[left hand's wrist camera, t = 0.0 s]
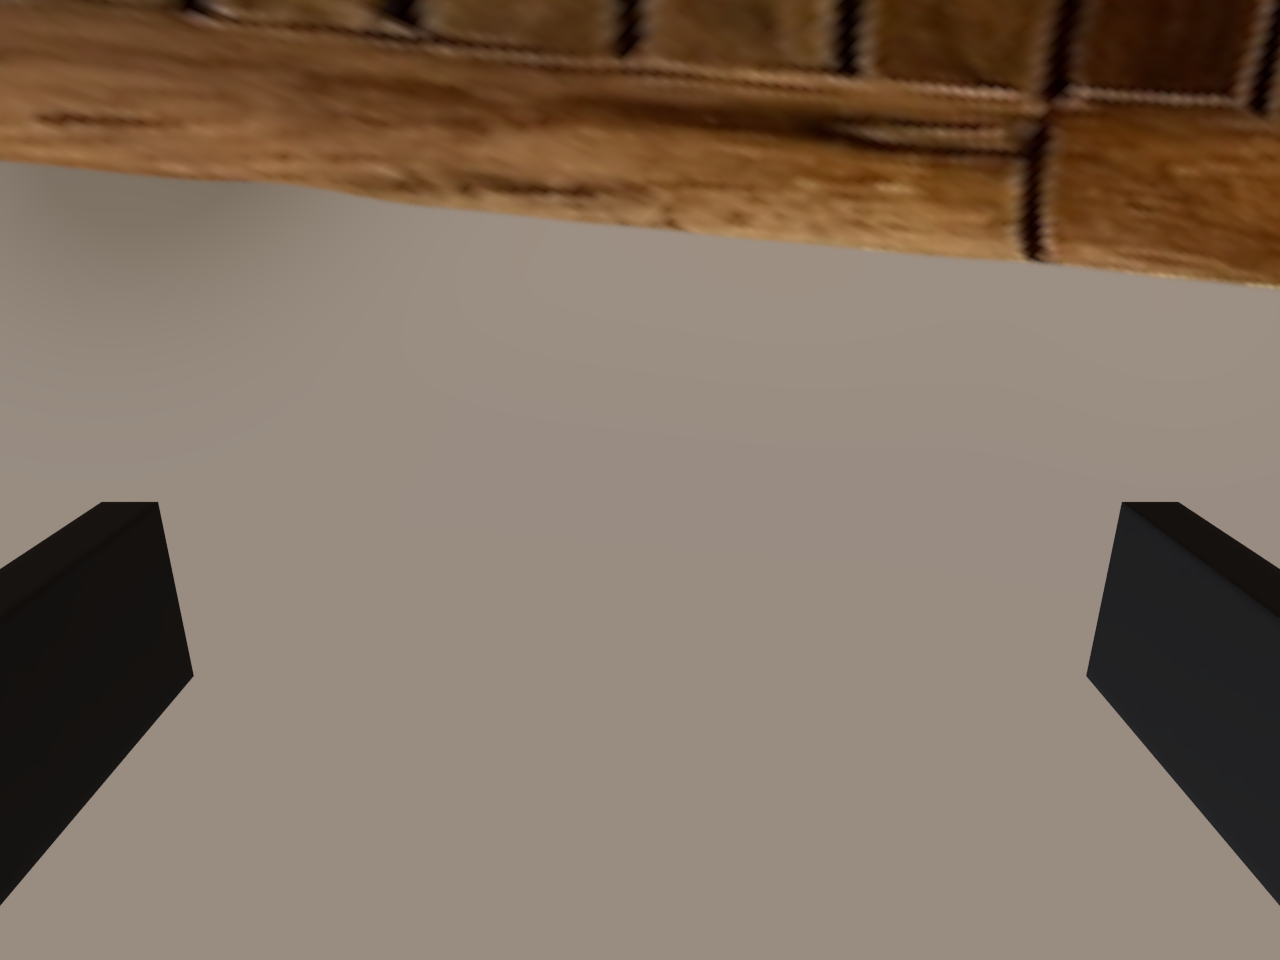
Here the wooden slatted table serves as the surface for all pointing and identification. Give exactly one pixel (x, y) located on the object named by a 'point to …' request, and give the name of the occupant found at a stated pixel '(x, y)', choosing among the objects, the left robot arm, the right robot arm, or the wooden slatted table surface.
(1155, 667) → the left robot arm
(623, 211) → the wooden slatted table surface
